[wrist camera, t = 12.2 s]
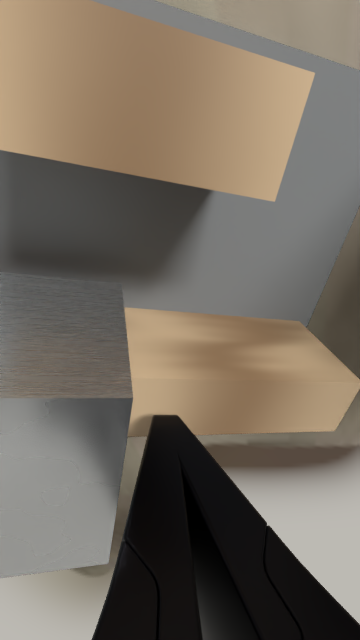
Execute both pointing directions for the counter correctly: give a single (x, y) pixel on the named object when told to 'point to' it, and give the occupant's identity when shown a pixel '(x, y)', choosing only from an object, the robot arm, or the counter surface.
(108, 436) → the rough concrete cube
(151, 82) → the block
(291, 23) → the counter surface
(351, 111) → the mat
